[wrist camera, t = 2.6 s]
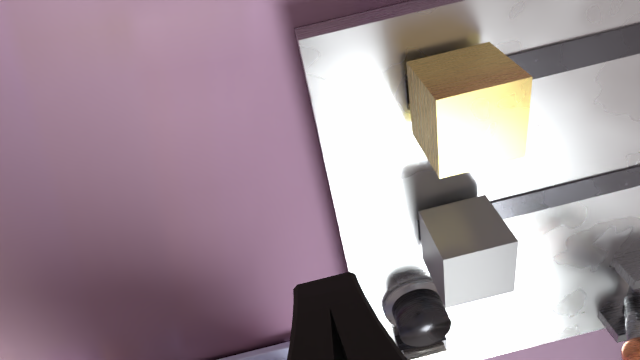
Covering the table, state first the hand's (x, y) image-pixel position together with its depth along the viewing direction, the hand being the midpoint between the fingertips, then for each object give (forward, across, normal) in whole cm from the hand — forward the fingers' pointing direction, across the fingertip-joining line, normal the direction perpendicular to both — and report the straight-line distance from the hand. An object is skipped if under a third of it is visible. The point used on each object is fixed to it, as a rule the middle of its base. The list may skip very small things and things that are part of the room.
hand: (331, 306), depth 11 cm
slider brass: (+8, -6, 0) cm, 10 cm away
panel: (+10, -10, +8) cm, 16 cm away
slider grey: (+8, -6, +7) cm, 12 cm away
